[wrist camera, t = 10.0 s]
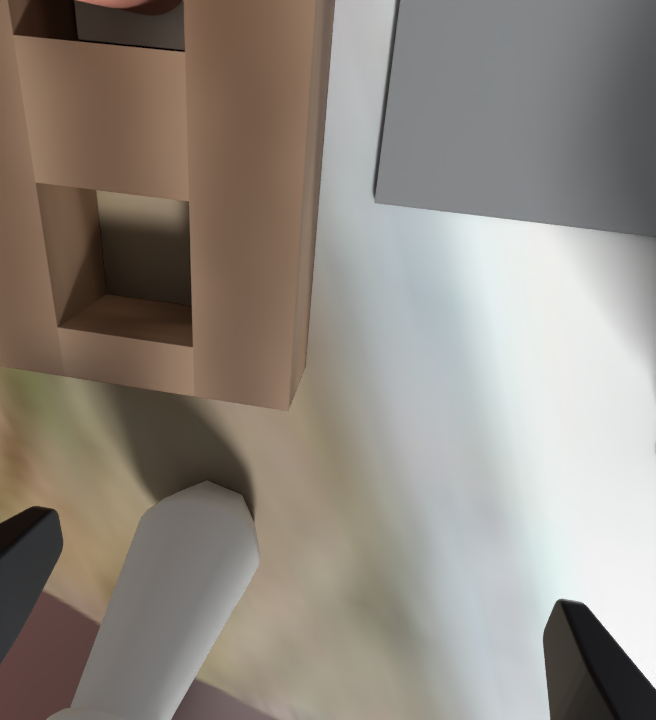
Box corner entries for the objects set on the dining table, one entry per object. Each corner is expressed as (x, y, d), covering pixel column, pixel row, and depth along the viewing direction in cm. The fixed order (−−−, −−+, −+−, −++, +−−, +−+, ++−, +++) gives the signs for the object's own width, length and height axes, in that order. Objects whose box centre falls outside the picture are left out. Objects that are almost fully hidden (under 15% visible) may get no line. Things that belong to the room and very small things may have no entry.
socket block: (353, -231, 14) (336, -316, 11) (305, 366, 23) (288, 411, 20) (-66, -253, 16) (-186, -337, 12) (34, 326, 24) (-23, 362, 21)
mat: (816, -152, 14) (824, -157, 14) (668, 236, 19) (672, 238, 18) (422, -176, 15) (423, -181, 14) (374, 201, 19) (374, 203, 19)
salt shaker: (174, 448, 26) (-20, 742, 14) (286, 494, 26) (184, 819, 15) (147, 530, 28) (-34, 832, 17) (249, 571, 29) (138, 895, 17)
